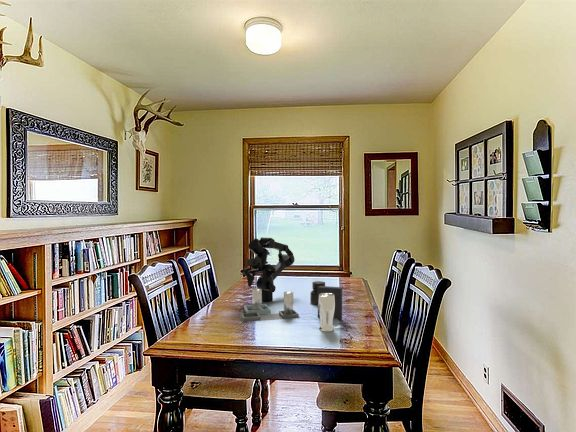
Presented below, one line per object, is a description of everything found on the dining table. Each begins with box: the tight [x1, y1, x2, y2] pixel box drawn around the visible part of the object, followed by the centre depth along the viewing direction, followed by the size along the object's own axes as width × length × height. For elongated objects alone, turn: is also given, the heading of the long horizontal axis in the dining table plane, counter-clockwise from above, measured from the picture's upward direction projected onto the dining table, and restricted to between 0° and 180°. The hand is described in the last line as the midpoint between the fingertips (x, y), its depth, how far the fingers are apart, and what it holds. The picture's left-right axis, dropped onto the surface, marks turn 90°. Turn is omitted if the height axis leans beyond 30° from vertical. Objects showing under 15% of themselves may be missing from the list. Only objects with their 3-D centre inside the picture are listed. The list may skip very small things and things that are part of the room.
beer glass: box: [317, 293, 335, 333], centre depth 174 cm, size 7×7×15 cm
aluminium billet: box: [251, 287, 263, 310], centre depth 201 cm, size 4×4×11 cm
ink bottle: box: [309, 280, 326, 306], centre depth 218 cm, size 10×9×12 cm
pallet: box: [239, 309, 301, 323], centre depth 190 cm, size 27×10×2 cm, turn 104°
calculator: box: [317, 285, 343, 322], centre depth 190 cm, size 11×4×15 cm, turn 71°
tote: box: [243, 303, 272, 315], centre depth 201 cm, size 11×11×3 cm
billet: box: [283, 290, 294, 315], centre depth 193 cm, size 4×4×11 cm
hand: (255, 285), depth 210 cm, fingers open, 9 cm apart
